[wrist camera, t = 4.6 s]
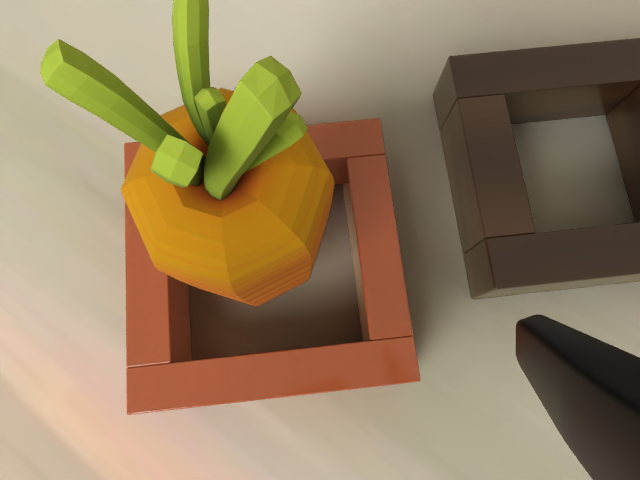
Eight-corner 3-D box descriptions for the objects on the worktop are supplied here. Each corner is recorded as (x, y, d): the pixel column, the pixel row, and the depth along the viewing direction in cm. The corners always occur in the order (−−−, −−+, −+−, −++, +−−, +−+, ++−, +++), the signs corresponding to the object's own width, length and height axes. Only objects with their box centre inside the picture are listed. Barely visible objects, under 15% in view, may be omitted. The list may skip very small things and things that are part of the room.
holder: (406, 378, 20) (421, 381, 17) (154, 407, 20) (126, 415, 17) (372, 149, 23) (380, 117, 20) (149, 171, 22) (123, 142, 19)
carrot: (190, 276, 21) (-94, 84, 7) (266, 193, 22) (164, -134, 7) (276, 351, 20) (170, 321, 6) (350, 262, 21) (419, 45, 7)
